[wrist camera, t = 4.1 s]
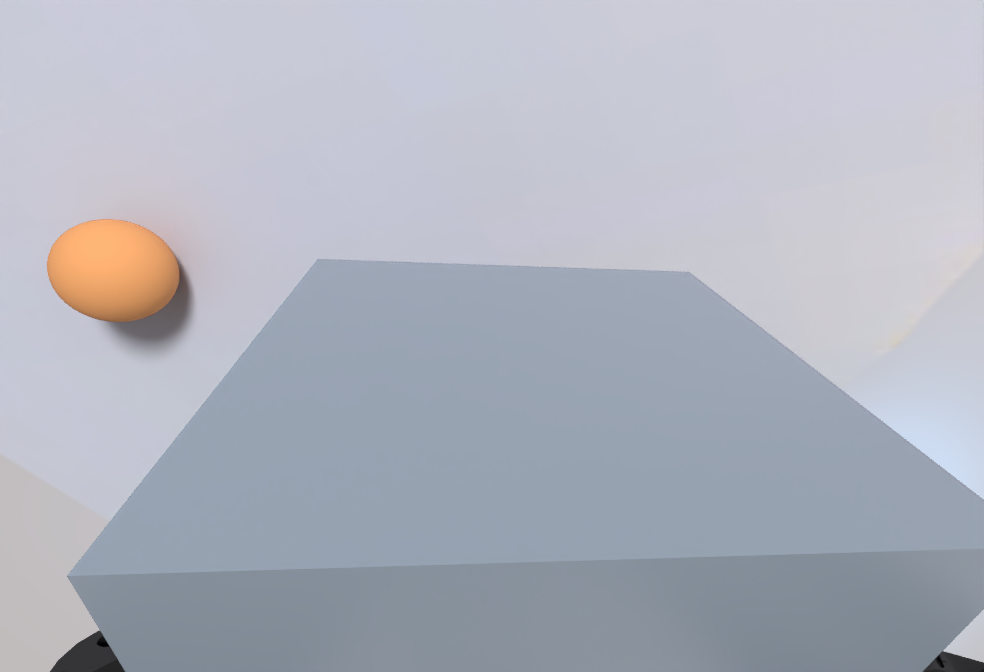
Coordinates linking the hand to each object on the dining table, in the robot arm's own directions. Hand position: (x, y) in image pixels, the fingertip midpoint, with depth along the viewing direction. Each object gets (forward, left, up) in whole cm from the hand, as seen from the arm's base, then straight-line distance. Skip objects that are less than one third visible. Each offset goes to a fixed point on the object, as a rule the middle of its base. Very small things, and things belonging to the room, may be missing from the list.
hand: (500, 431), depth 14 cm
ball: (0, +18, -12) cm, 21 cm away
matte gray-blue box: (0, 0, -1) cm, 1 cm away
